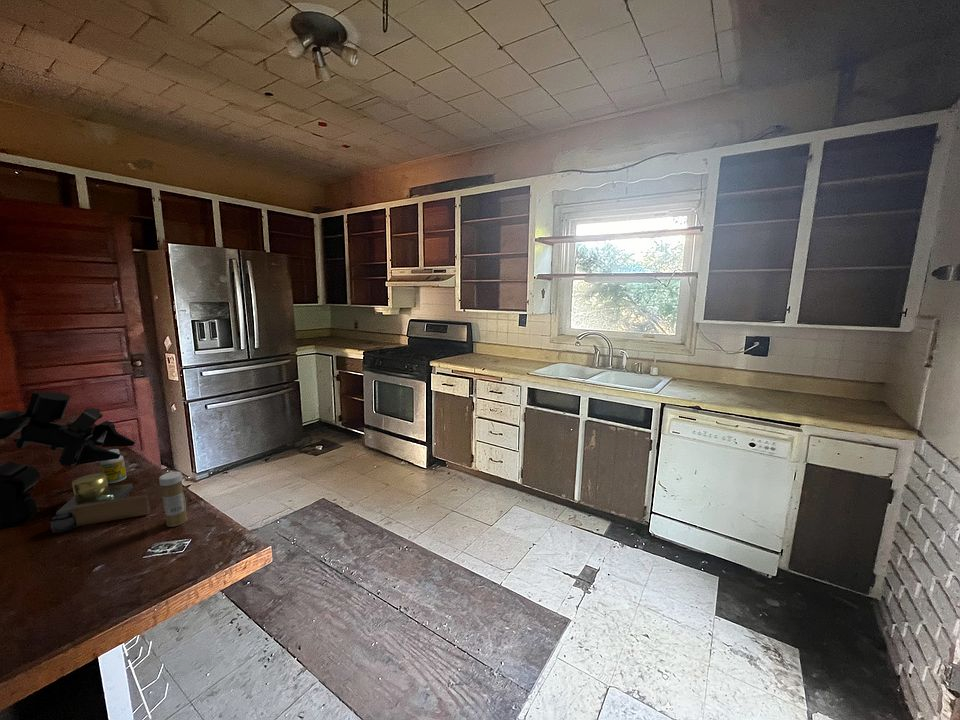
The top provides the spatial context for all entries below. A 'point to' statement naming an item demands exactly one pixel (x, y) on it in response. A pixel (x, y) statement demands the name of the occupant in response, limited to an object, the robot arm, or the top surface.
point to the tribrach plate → (117, 495)
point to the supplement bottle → (114, 468)
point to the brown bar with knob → (100, 512)
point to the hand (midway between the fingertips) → (127, 450)
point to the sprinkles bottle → (173, 498)
